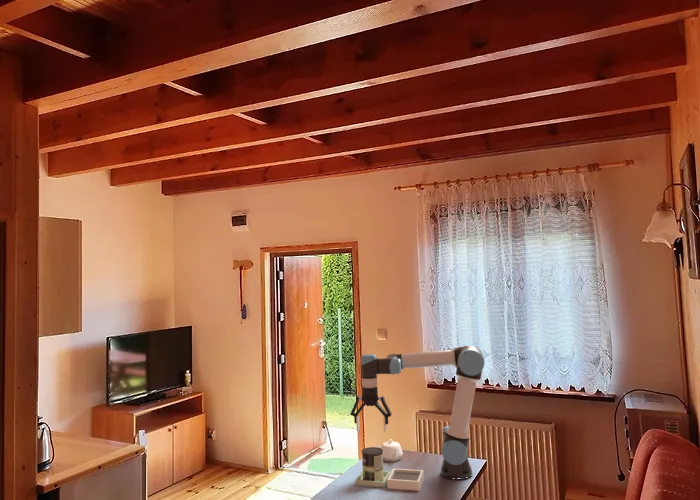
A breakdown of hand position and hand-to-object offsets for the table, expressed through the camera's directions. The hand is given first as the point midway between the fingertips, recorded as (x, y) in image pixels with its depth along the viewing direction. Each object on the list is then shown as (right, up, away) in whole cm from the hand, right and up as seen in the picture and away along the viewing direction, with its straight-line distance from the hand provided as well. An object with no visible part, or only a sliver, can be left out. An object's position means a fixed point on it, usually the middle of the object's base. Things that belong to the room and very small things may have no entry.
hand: (371, 430), depth 257 cm
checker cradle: (+16, -23, -6) cm, 29 cm away
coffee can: (+1, -24, -2) cm, 24 cm away
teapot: (+12, -26, +30) cm, 41 cm away
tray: (+1, -24, -1) cm, 24 cm away
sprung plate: (+16, -22, -6) cm, 27 cm away
